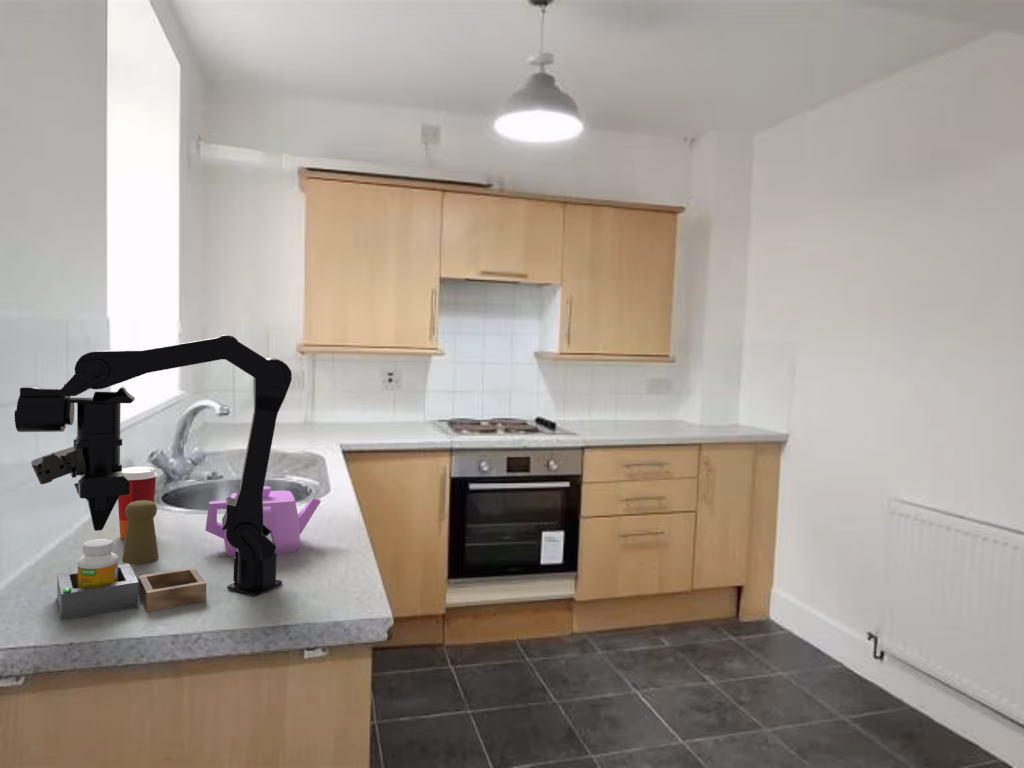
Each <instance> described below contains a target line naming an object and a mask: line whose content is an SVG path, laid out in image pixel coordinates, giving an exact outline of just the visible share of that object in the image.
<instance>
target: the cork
mask: <svg viewBox="0 0 1024 768" xmlns="http://www.w3.org/2000/svg"><path fill="white" fill-rule="evenodd" d="M157 512H158V508H157V504H156V503H155V501H154V502H152V501H147V500H141V501H135V502H131V503H129V504H128V505H127V507H126V509H125V514H126V517H127V519H128V520H129V521H128V527H127V533H126V539H124V545H123V553H122V559H121V561H122V564H126V563H129V564H130V565H143V564H144V565H145V564H149V563H151V562H153V563H154V562H155V561H157V560H158V559H159V551H158V542H157V533H156V528H155V519H154V518H155V517H156V515H157Z"/></svg>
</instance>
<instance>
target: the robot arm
mask: <svg viewBox="0 0 1024 768" xmlns="http://www.w3.org/2000/svg"><path fill="white" fill-rule="evenodd" d="M219 360H226V362H227V361H228V363H230V364H232V365H234V366H235V367H237V368H238V369H240V370H242V371H243V372H245V373H246V374H248V375H250V376H251V377H253V381H252V382H253V412H252V413H253V414H252V417H251V418H252V420H251V424H250V431H249V435H248V440H247V446H246V452H245V456H244V463H243V468H242V472H241V473H242V474H241V478H240V484H239V488H238V490H237V492H236V493H237V495H236V497H235V499H233V498H230V497H229V496H227V497H226V499H225V500H226V509H225V512H224V515H223V516H222V518H221V524H222V529H223V530H225V529H226V538H227V541H228V542H229V543H230V544H231V545H232V546H233V547H235V548H238V550H237V551H235V557H234V558H233V578H232V579H233V583H230V584H228V585H227V589H228V590H232V591H235V592H239V593H243V594H248V595H252V596H258V595H261V594H262V593H266V592H267V591H269V590H272V589H274V588H276V587H279V586H280V585H282V584H283V581H282V580H281V579H277V554H276V553H277V552H275V549H276V545H275V541H274V537H273V534H272V531H270V530H269V529H268V528H267V527H266V526H265V525H263V496H262V494H263V488H264V486H265V482H266V476H267V471H268V466H269V460H270V454H271V449H272V444H273V439H274V435H275V434H274V433H275V430H276V429H275V427H276V422H277V418H278V415H279V412H280V409H281V408H282V404H283V403H284V401H285V399H286V396H287V394H288V391H289V388H290V386H291V383H292V377H293V374H292V370H291V368H290V367H289V366H288V364H287V363H285V362H284V361H282V360H280V359H279V358H276V357H266V358H265V357H264V356H262V355H260V353H258V352H256V351H254V350H252V348H249V347H248V346H247V345H245V344H243V343H242V342H239V340H238V339H237V338H236V337H234V336H232V335H230V334H223V335H220V336H218V337H213V338H207V339H202V340H195V341H190V342H184V343H178V344H177V343H176V344H172V345H167V346H162V347H154V348H148V349H111V350H110V349H109V350H108V349H99V350H95V351H89V352H87V353H84V354H83V355H81V356H80V357H79V358H78V360H77V361H76V363H75V366H74V375H73V376H72V377H71V378H70V379H69V380H68V381H67V382H66V383H64V384H63V386H62V387H61V388H59V387H57V388H56V387H37V386H22V387H20V388H19V397H18V399H17V402H16V409H15V410H14V424H15V429H16V431H17V432H18V433H49V432H50V433H62V432H65V430H66V428H67V426H73V425H74V421H75V411H76V410H77V414H76V415H77V416H76V420H77V421H76V433H77V434H76V436H75V438H73V446H70V447H68V448H65V449H61V450H58V451H54V452H51V453H49V454H46V455H43V456H41V457H37V458H34V459H33V460H31V467H32V469H33V472H34V473H35V475H36V478H37V479H38V482H39V484H40V485H45V484H48V483H51V482H52V481H53V480H56V479H58V478H61V477H64V476H67V475H69V474H70V477H71V478H72V479H73V478H77V476H79V477H80V479H78V481H77V482H76V483H74V484H73V485H74V487H75V490H76V492H77V494H78V496H79V498H80V499H85V500H87V505H88V509H89V514H90V518H91V523H92V527H93V530H94V531H96V532H98V531H103V529H104V528H105V526H106V524H107V521H108V520H109V518H110V515H111V514H112V511H113V509H114V507H115V505H116V504H117V503H118V498H119V496H120V495H127V494H129V480H128V479H127V478H126V477H125V476H124V475H123V474H121V473H120V472H122V469H123V465H122V464H121V446H123V438H122V436H121V405H122V404H131V403H133V402H134V401H135V400H136V399H135V397H134V396H133V395H132V394H131V393H130V392H128V391H127V389H126V388H125V387H124V386H122V387H119V389H118V391H94V393H93V397H76V396H78V395H80V394H82V393H84V392H86V391H88V390H90V389H91V390H103V389H106V388H109V387H112V386H115V385H117V384H121V383H123V382H126V381H129V380H131V379H134V378H137V377H140V376H143V375H146V374H149V373H153V372H158V371H165V370H171V369H177V368H182V367H187V366H191V365H192V366H194V365H198V364H204V363H209V362H214V361H219ZM75 404H76V405H77V406H76V408H77V409H76V410H75Z"/></svg>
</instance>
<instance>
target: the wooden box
mask: <svg viewBox="0 0 1024 768" xmlns="http://www.w3.org/2000/svg"><path fill="white" fill-rule="evenodd" d="M137 578H138V579H137V580H138V598H139V599H140V601H141V604H143V607H144V609H145V611H146V613H148V612H155V611H159V610H160V611H161V610H164V609H166V610H167V609H170V608H176V607H181V606H187V605H188V606H189V605H192V604H196V603H203V602H207V582H206V581H205V579H204V578H203V576H202V575H201V574H200V573H199V571H198V570H197V568H196V567H187V568H180V569H175V570H168V571H161V572H156V573H148V574H141V575H138V577H137Z"/></svg>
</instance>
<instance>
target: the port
mask: <svg viewBox="0 0 1024 768" xmlns="http://www.w3.org/2000/svg"><path fill="white" fill-rule="evenodd" d="M137 578H138V577H136V574H135V572H134V570H133V568H132V565H131V564H129V563H121V564H119V563H118V582H115V583H108V584H102V585H95V586H89V587H83V588H78V569H77V570H70V571H64V572H57V573H56V599H57V604H58V611H59V616H60V621H68V620H72V619H79V618H84V617H90V616H97V615H100V614H106V613H112V612H117V611H123V610H129V609H134V608H138V607H139V594H138V579H137Z"/></svg>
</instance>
